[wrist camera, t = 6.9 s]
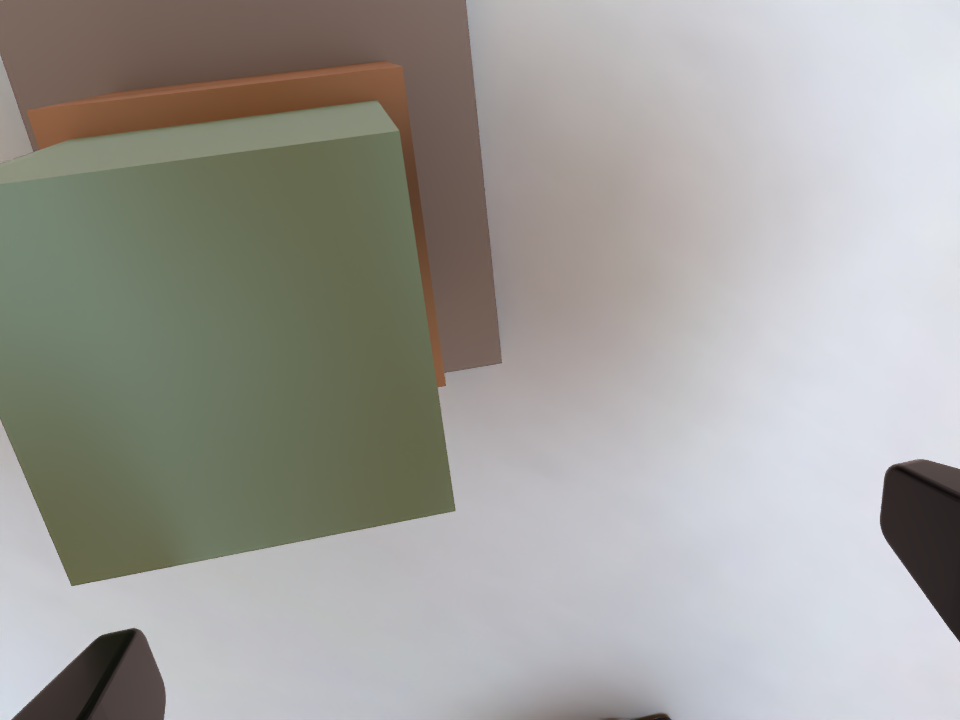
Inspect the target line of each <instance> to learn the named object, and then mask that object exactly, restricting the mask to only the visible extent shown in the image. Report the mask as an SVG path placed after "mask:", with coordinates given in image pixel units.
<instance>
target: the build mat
mask: <svg viewBox="0 0 960 720" xmlns="http://www.w3.org/2000/svg"><path fill="white" fill-rule="evenodd" d="M0 54H1V57H2V60H3V63H4V66H5V69H6V72H7V75H8V78H9V81H10V84H11V87H12V89H13V92H14V95H15V98H16V101H17V104H18V107H19V110H20V113H21V116H22V119H23V122H24V125H25V128H26V131H27V133H28V136H29V139H30V142H31V145H32V148H33V151H34V152H35V151H38V150H39V147H38V144H37V141H36V138H35V135H34V132H33V129H32V126H31V123H30V120H29V117H28V114H27V110H32V109H37V108H41V107H46V106H51V105H56V104H61V103H65V102H70V101H75V100H80V99H84V98H89V97H94V96H99V95H104V94H108V93H113V92H122V91H130V90H139V89H147V88H156V87H164V86H173V85H182V84H190V83H199V82H207V81H216V80H225V79H233V78H242V77H250V76H259V75H268V74H276V73H285V72H293V71H302V70H311V69H319V68H328V67H336V66H345V65H354V64H362V63H371V62H379V61H387V62H390V63H393V64H396V65H399V66H402V67H403V75H404V82H405V90H406V97H407V104H408V112H409V119H410V126H411V134H412V141H413V148H414V156H415V163H416V170H417V178H418V185H419V193H420V200H421V207H422V215H423V222H424V229H425V237H426V244H427V251H428V259H429V266H430V274H431V281H432V288H433V296H434V303H435V310H436V318H437V325H438V332H439V340H440V347H441V354H442V362H443V369H444V373H446V372H452V371H458V370H464V369H470V368H476V367H482V366H488V365H493V364H499V363H502V359H501V349H500V339H499V329H498V319H497V309H496V299H495V289H494V279H493V269H492V259H491V249H490V239H489V229H488V219H487V209H486V199H485V189H484V179H483V169H482V159H481V149H480V139H479V129H478V119H477V109H476V99H475V89H474V79H473V69H472V59H471V49H470V39H469V29H468V19H467V9H466V0H0Z"/></svg>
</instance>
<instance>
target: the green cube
mask: <svg viewBox="0 0 960 720" xmlns="http://www.w3.org/2000/svg"><path fill="white" fill-rule="evenodd" d="M0 419H1V421H2V424H3V426H4V428H5V431H6V433H7V435H8V438H9V440H10V442H11V445H12V447H13V449H14V452H15V454H16V456H17V459H18V461H19V464H20V466H21V468H22V471H23V473H24V475H25V478H26V480H27V482H28V485H29V487H30V489H31V492H32V494H33V496H34V499H35V501H36V503H37V506H38V508H39V510H40V513H41V515H42V517H43V520H44V522H45V525H46V527H47V529H48V532H49V534H50V536H51V539H52V541H53V543H54V546H55V548H56V550H57V553H58V555H59V557H60V560H61V562H62V564H63V567H64V569H65V571H66V574H67V576H68V578H69V581H70V583H71V586H75V585H80V584H85V583H90V582H96V581H101V580H106V579H111V578H116V577H121V576H126V575H131V574H136V573H141V572H146V571H152V570H157V569H162V568H167V567H172V566H177V565H182V564H187V563H192V562H197V561H203V560H208V559H213V558H218V557H223V556H228V555H233V554H238V553H243V552H248V551H254V550H259V549H264V548H269V547H274V546H279V545H284V544H289V543H294V542H299V541H304V540H310V539H315V538H320V537H325V536H330V535H335V534H340V533H345V532H350V531H355V530H361V529H366V528H371V527H376V526H381V525H386V524H391V523H396V522H401V521H406V520H411V519H417V518H422V517H427V516H432V515H437V514H442V513H447V512H452V511H455V504H454V497H453V491H452V484H451V477H450V470H449V463H448V457H447V450H446V443H445V436H444V430H443V423H442V416H441V409H440V403H439V396H438V389H437V382H436V375H435V369H434V362H433V355H432V348H431V342H430V335H429V328H428V321H427V315H426V308H425V301H424V294H423V287H422V281H421V274H420V267H419V260H418V254H417V247H416V240H415V233H414V226H413V220H412V213H411V206H410V199H409V193H408V186H407V179H406V172H405V166H404V159H403V152H402V145H401V138H400V132H399V130H398V128H397V127H396V125H395V124H394V123H393V121H392V120H391V118H390V117H389V116H388V114H387V113H386V112H385V110H384V109H383V107H382V106H381V105H380V103H379V102H378V100H372V101H365V102H357V103H349V104H341V105H334V106H326V107H318V108H310V109H302V110H295V111H287V112H279V113H271V114H264V115H256V116H248V117H240V118H232V119H225V120H217V121H209V122H201V123H194V124H186V125H178V126H170V127H162V128H155V129H147V130H139V131H131V132H124V133H116V134H108V135H100V136H92V137H85V138H77V139H69V140H67V141H64V142H61V143H58V144H55V145H52V146H49V147H47V148H44V149H41V150H38V151H35V152H32V153H30V154H27V155H24V156H21V157H18V158H15V159H12V160H10V161H7V162H4V163H1V164H0Z"/></svg>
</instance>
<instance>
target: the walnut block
mask: <svg viewBox="0 0 960 720" xmlns="http://www.w3.org/2000/svg"><path fill="white" fill-rule="evenodd" d="M372 100H378V102H379V103H380V105H381V106H382V107H383V109H384V110H385V112H386V113H387V114H388V116H389V117H390V118H391V120H392V121H393V123H394V124H395V125H396V127H397V128H398V130H399V132H400V138H401V145H402V152H403V159H404V166H405V172H406V179H407V186H408V193H409V199H410V206H411V213H412V220H413V226H414V233H415V240H416V247H417V254H418V260H419V267H420V274H421V281H422V287H423V294H424V301H425V308H426V315H427V321H428V328H429V335H430V342H431V348H432V355H433V362H434V369H435V375H436V382H437V387H442V386H446V384H445V377H444V369H443V362H442V354H441V347H440V340H439V332H438V325H437V318H436V310H435V303H434V296H433V288H432V281H431V274H430V266H429V259H428V251H427V244H426V237H425V229H424V222H423V215H422V207H421V200H420V193H419V185H418V178H417V170H416V163H415V156H414V148H413V141H412V134H411V126H410V119H409V112H408V104H407V97H406V90H405V82H404V75H403V67H402V66H399V65H396V64H393V63H390V62H387V61H379V62H371V63H362V64H354V65H345V66H336V67H328V68H319V69H311V70H302V71H293V72H285V73H276V74H268V75H259V76H250V77H242V78H233V79H225V80H216V81H207V82H199V83H190V84H182V85H173V86H164V87H156V88H147V89H139V90H130V91H122V92H113V93H108V94H104V95H99V96H94V97H89V98H84V99H80V100H75V101H70V102H65V103H61V104H56V105H51V106H46V107H41V108H37V109H32V110H27V114H28V117H29V120H30V123H31V126H32V129H33V132H34V135H35V138H36V141H37V144H38V147H39V150H41V149H44V148H47V147H49V146H52V145H55V144H58V143H61V142H64V141H67V140H69V139H77V138H85V137H92V136H100V135H108V134H116V133H124V132H131V131H139V130H147V129H155V128H162V127H170V126H178V125H186V124H194V123H201V122H209V121H217V120H225V119H232V118H240V117H248V116H256V115H264V114H271V113H279V112H287V111H295V110H302V109H310V108H318V107H326V106H334V105H341V104H349V103H357V102H365V101H372Z"/></svg>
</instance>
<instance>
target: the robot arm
mask: <svg viewBox="0 0 960 720" xmlns="http://www.w3.org/2000/svg"><path fill="white" fill-rule="evenodd" d="M880 525H881V529H882V533H883V535H884V537H885V539H886V541H887V542H888V544H889V545H890V547H891V548H892V549H893V551H894V552H895V553H896V555H897V556H898V558H899V559H900V560H901V562H902V563H903V565H904V566H905V567H906V569H907V570H908V572H909V573H910V574H911V576H912V577H913V579H914V580H915V581H916V583H917V584H918V585H919V587H920V588H921V590H922V591H923V592H924V594H925V595H926V597H927V598H928V599H929V601H930V602H931V604H932V605H933V606H934V608H935V609H936V611H937V612H938V613H939V615H940V616H941V618H942V619H943V620H944V622H945V623H946V624H947V626H948V627H949V629H950V630H951V631H952V632H953V634H954V635H955V636H956V638H957V639H958V640H959V642H960V469H958V468H954V467H950V466H947V465H943V464H940V463H936V462H932V461H929V460H924V459H918V460H913V461H908V462H903V463H899V464H894V465H892V466H891V467H889V468H888V470H887V471H886V473H885V477H884V486H883V495H882V504H881V513H880ZM165 704H166V694H165V687H164V682H163V679H162V677H161V674H160V672H159V669H158V667H157V664H156V662H155V659H154V657H153V654H152V652H151V649H150V647H149V644H148V642H147V639H146V637H145V635H144V634H143V633H142V631H141V630H139V629H136V628H131V629H127V630H122V631H117V632H113V633H108V634H104V635H101V636H99V637H98V638H97V639H96V640H94V641H93V642H92V643H91V644H90V645H89V646H88V647H87V648H86V649H85V650H84V651H83V652H82V653H81V654H80V655H79V656H77V657H76V658H75V659H74V660H73V661H72V662H71V663H70V664H69V665H68V666H67V667H66V668H65V669H64V670H63V671H62V672H61V673H60V674H59V675H58V676H57V677H55V678H54V679H53V680H52V681H51V682H50V683H49V684H48V685H47V686H46V687H45V688H44V689H43V690H42V691H41V692H40V693H39V694H38V695H37V696H36V697H35V698H34V699H32V700H31V701H30V702H29V703H28V704H27V705H26V706H25V707H24V708H23V709H22V710H21V711H20V712H19V713H18V714H17V715H16V716H15V717H14V718H13V719H12V720H164V714H165ZM654 720H671V719H670V718H666V717H665V718H658V719H654Z"/></svg>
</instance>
